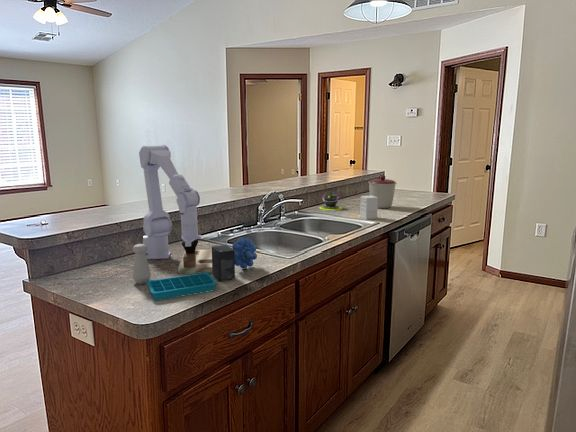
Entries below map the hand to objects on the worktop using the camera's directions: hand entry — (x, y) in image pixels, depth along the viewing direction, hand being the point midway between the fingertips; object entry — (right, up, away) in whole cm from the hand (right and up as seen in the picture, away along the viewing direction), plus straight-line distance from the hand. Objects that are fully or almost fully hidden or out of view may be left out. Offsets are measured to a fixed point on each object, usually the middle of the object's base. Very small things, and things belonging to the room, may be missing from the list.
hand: (191, 260), depth 155 cm
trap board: (+1, -2, +6) cm, 7 cm away
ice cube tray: (+2, -8, -20) cm, 22 cm away
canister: (+97, +22, +122) cm, 157 cm away
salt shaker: (-13, -6, -14) cm, 20 cm away
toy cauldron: (+63, +21, +118) cm, 136 cm away
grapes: (+20, -4, -1) cm, 21 cm away
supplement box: (+82, +15, +88) cm, 122 cm away
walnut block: (0, -2, -3) cm, 4 cm away
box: (+13, -5, -8) cm, 17 cm away
